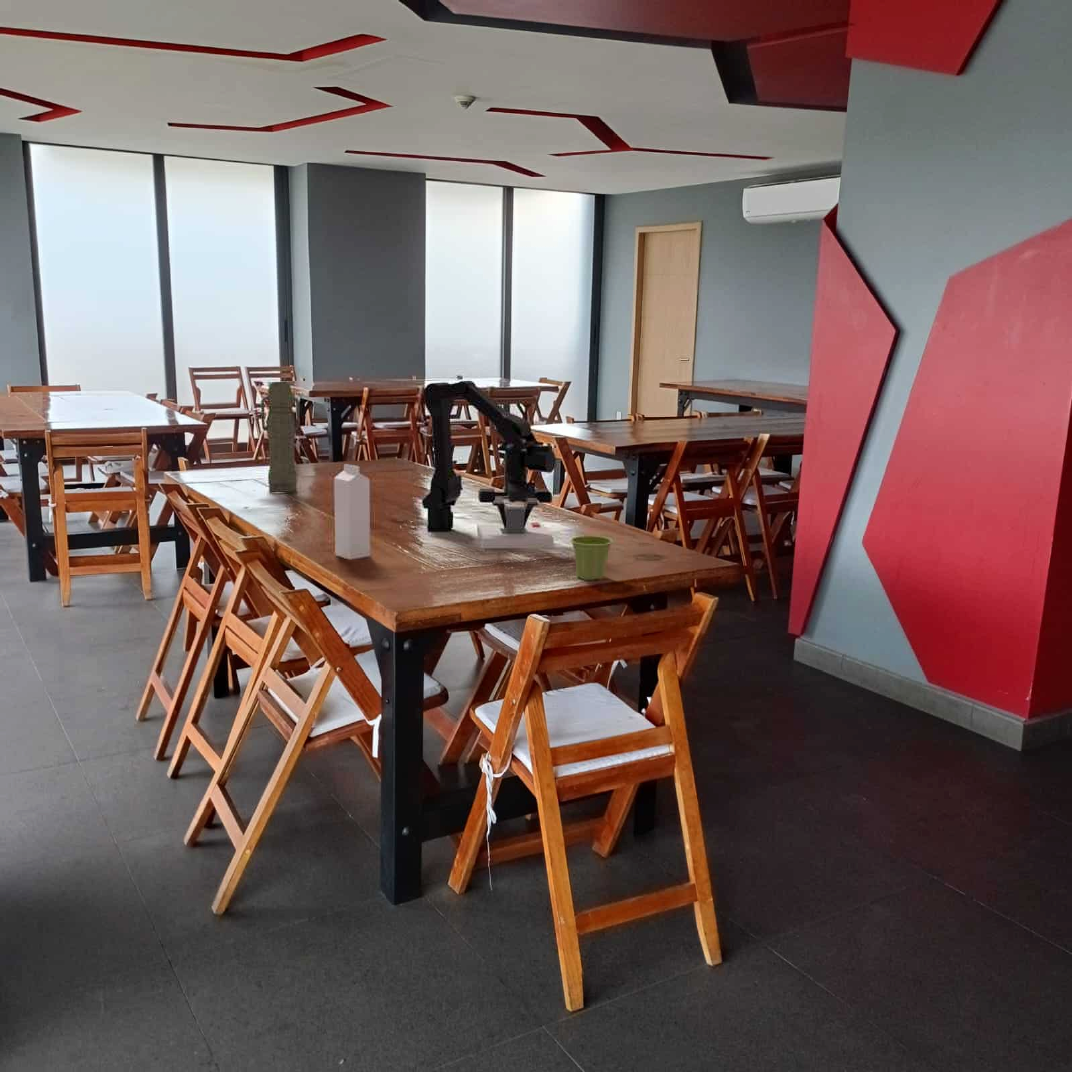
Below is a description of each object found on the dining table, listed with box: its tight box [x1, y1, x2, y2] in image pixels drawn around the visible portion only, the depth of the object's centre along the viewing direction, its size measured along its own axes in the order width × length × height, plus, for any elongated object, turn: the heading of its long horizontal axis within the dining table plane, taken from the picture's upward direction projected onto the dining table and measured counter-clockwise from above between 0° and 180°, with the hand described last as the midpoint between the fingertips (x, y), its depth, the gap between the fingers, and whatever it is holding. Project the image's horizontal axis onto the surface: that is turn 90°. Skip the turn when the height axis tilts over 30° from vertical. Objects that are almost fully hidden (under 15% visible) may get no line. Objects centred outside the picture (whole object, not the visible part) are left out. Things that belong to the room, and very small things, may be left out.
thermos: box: [260, 381, 301, 493], centre depth 318 cm, size 9×12×35 cm
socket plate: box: [476, 522, 554, 549], centre depth 259 cm, size 18×18×3 cm
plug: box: [505, 504, 524, 534], centre depth 258 cm, size 4×4×7 cm
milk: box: [333, 463, 371, 560], centre depth 236 cm, size 6×6×22 cm
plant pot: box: [570, 535, 613, 581], centre depth 224 cm, size 9×9×9 cm
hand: (514, 528), depth 259 cm, fingers closed on plug, 4 cm apart
